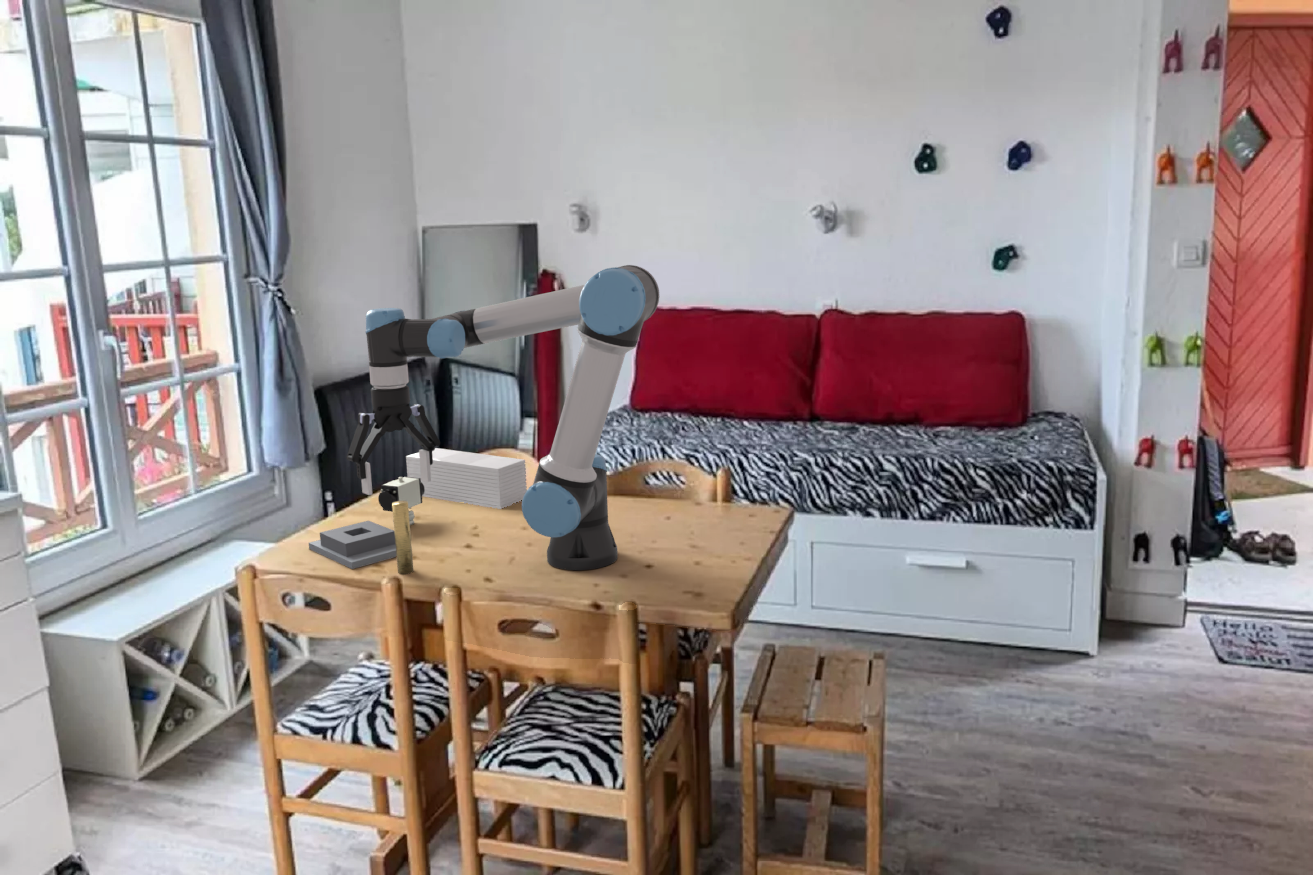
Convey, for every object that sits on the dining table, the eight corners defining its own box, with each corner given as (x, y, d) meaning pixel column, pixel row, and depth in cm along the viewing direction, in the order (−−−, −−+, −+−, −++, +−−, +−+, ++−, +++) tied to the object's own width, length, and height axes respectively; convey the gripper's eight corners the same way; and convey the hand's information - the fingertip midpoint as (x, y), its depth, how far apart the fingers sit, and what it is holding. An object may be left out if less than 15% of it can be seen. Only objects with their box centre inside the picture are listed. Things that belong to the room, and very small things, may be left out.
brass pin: (416, 571, 218) (410, 502, 214) (402, 575, 215) (397, 505, 212) (408, 567, 220) (402, 499, 217) (395, 571, 218) (389, 503, 214)
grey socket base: (410, 553, 229) (408, 533, 228) (352, 569, 220) (350, 548, 219) (365, 534, 244) (363, 516, 243) (309, 549, 234) (307, 530, 233)
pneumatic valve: (427, 519, 254) (424, 472, 252) (395, 533, 244) (391, 484, 241) (410, 517, 257) (406, 470, 254) (377, 530, 246) (373, 481, 244)
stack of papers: (409, 494, 278) (405, 455, 276) (436, 485, 287) (434, 447, 285) (500, 510, 261) (498, 468, 259) (527, 499, 270) (525, 459, 268)
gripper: (433, 375, 220) (439, 472, 225) (323, 391, 203) (332, 495, 208) (452, 379, 215) (458, 478, 219) (341, 396, 198) (350, 502, 203)
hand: (397, 487), depth 214 cm, fingers open, 13 cm apart
